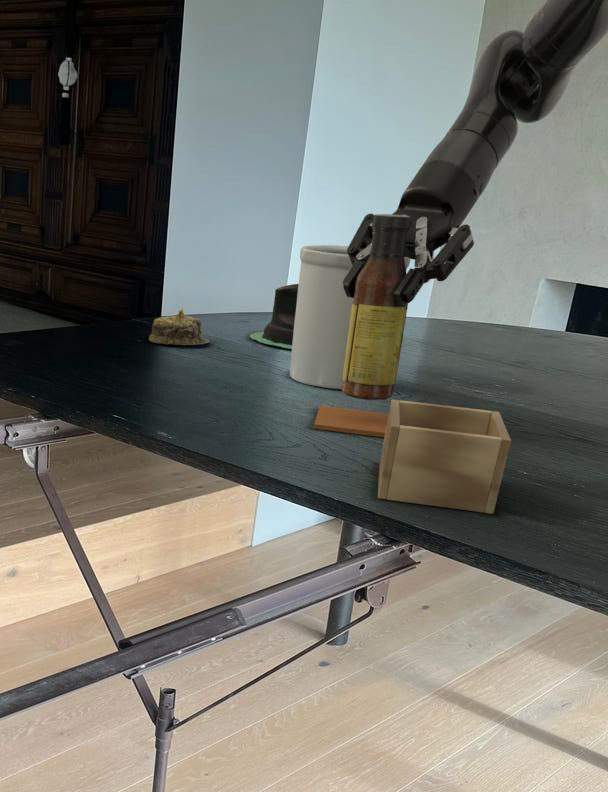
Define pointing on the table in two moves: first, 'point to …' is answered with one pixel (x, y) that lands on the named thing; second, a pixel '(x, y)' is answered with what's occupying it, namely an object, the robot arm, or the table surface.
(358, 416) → the cork mat
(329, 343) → the utensil holder
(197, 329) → the cake
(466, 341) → the table surface
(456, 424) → the box
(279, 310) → the chocolate cake
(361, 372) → the sauce bottle
